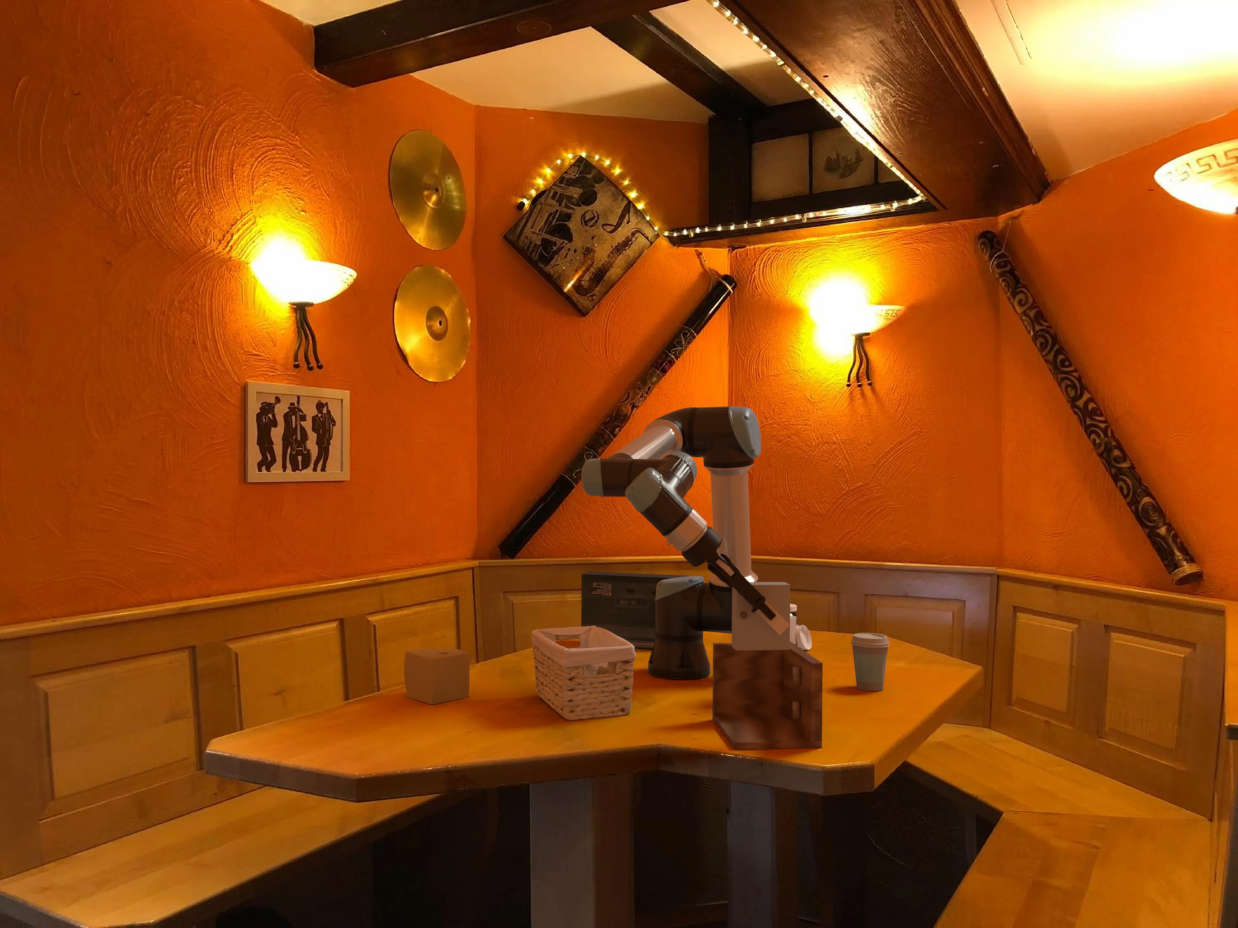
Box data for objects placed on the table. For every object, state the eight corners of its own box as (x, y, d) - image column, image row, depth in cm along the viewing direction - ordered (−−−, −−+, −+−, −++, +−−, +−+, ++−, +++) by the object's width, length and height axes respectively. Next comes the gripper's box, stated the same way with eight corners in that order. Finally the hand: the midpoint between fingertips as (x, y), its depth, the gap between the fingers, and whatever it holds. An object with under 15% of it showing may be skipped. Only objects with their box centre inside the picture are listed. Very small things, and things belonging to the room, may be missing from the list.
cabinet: (734, 749, 170) (735, 664, 170) (712, 719, 189) (713, 642, 189) (821, 747, 171) (822, 663, 171) (790, 717, 191) (791, 642, 191)
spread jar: (769, 643, 271) (770, 602, 271) (810, 644, 269) (810, 603, 269) (770, 651, 259) (770, 608, 259) (812, 652, 257) (813, 609, 257)
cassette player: (688, 647, 263) (689, 575, 263) (683, 652, 257) (683, 578, 257) (588, 641, 272) (589, 571, 272) (581, 645, 265) (581, 573, 265)
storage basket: (638, 717, 191) (639, 643, 191) (561, 724, 185) (561, 648, 185) (598, 690, 214) (598, 624, 214) (528, 695, 208) (528, 628, 208)
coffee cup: (890, 693, 212) (891, 639, 212) (851, 691, 214) (851, 638, 214) (887, 684, 220) (888, 633, 220) (849, 682, 222) (850, 631, 222)
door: (737, 651, 174) (738, 585, 174) (731, 646, 178) (732, 582, 178) (790, 650, 175) (791, 585, 175) (783, 645, 179) (784, 581, 179)
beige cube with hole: (443, 689, 213) (444, 644, 213) (472, 698, 205) (472, 651, 205) (403, 697, 206) (403, 650, 206) (430, 706, 198) (431, 658, 198)
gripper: (672, 549, 184) (755, 633, 186) (687, 557, 167) (779, 651, 169) (699, 521, 184) (782, 606, 186) (717, 527, 167) (808, 620, 169)
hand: (780, 627), depth 177 cm, fingers closed on door, 4 cm apart
